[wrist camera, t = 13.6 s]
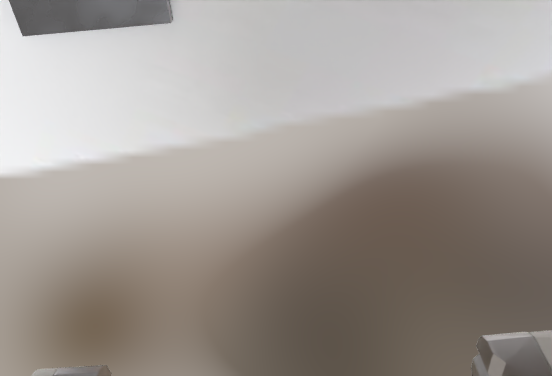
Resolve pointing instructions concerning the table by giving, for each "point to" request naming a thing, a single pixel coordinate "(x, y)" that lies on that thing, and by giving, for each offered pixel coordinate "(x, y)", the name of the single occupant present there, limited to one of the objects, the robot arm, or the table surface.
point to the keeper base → (87, 14)
